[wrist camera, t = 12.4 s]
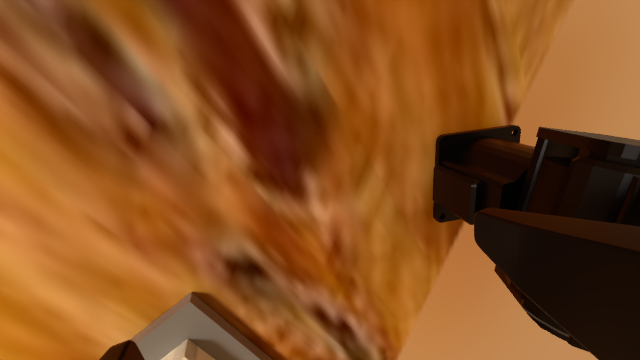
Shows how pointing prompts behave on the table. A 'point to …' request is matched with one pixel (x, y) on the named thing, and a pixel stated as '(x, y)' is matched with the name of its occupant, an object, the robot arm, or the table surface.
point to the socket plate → (194, 336)
